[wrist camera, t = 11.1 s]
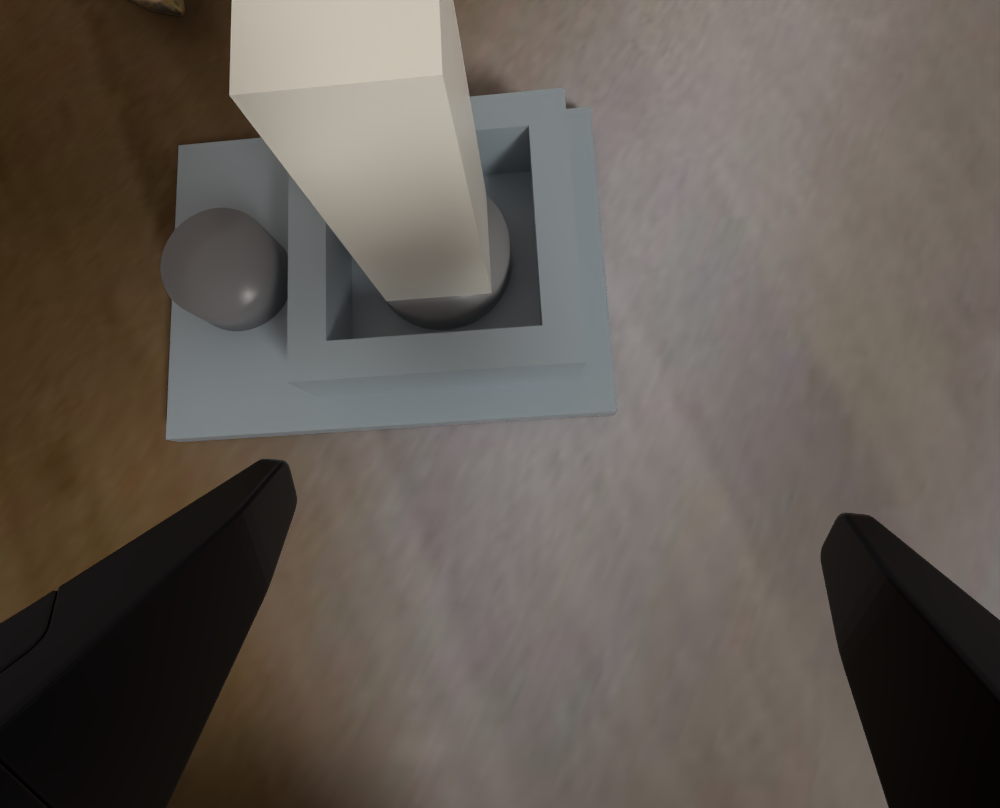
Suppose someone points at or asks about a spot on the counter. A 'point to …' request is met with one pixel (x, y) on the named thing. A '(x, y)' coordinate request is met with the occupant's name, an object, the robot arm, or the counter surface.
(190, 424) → the housing
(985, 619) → the robot arm
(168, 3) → the ceramic sculpture
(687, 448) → the counter surface
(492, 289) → the cream square pillar
